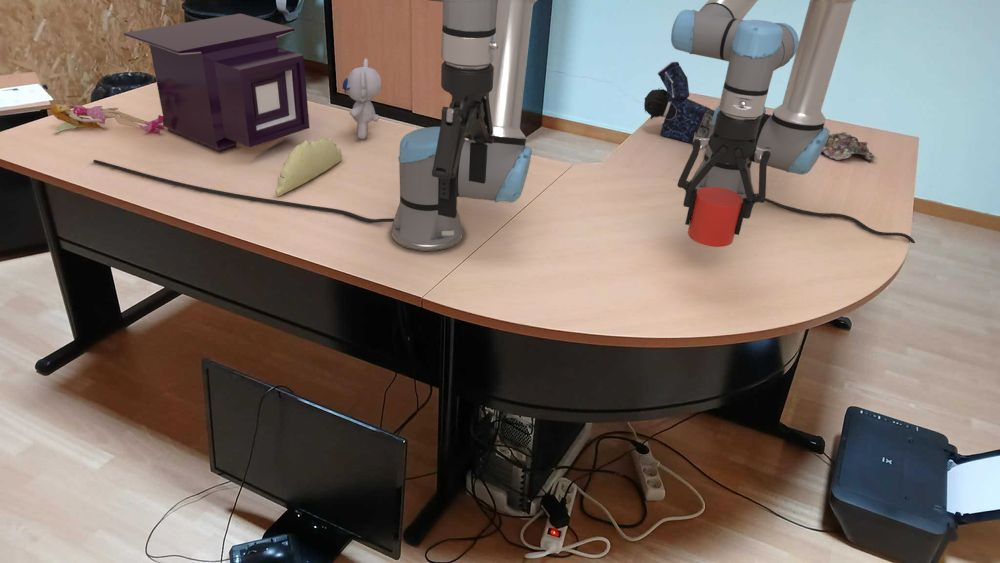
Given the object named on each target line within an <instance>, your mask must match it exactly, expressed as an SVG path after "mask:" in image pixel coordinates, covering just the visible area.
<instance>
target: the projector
mask: <svg viewBox="0 0 1000 563" xmlns="http://www.w3.org/2000/svg"><path fill="white" fill-rule="evenodd" d="M294 31H295V28H294V27H292V26H287V25H283V24H279V23H276V22H272V21H269V20H264V19H262V18H259V17H256V16H255V17H254V16H252V15H247V14H244V13H235V14H230V15H224V16H217V17H212V18H205V19H200V20H194V21H188V22H181V23H175V24H169V25H163V26H157V27H151V28H146V29H145V28H144V29H139V30H134V31H128V32H123V36H125V37H127V38H130V39H133V40H136V41H138V42H142V43H145V44H148V45H149V50H150V54H151V60H152V66H153V71H154V75H155V76H154V77H155V82H156V87H157V92H158V97H159V102H160V107H161V113H162V116H163V119H164V122H163V123H162V125H163V126H164V128H166V129H167V131H168V132H170V133H172V134H175V135H177V136H179V137H182V138H184V139H187V140H189V141H191V142H193V143H196V144H197V145H200V146H203V147H205V148H207V149H209V150H212V151H215V152H217V153H219V154H220V153H224V152H227V151H229V150H233V149H235V148H237V144H240V145H242V146H245V147H247V148H249V149H250V148H253V147H256V146H259V145H262V144H266V143H269V142H271V141H275V140H278V139H281V138H285V137H287V136H289V135H293V134H296V133H300V132H302V131H305V130H308V129H310V118H309V105H308V94H307V93H308V92H307V80H306V79H307V78H306V68H305V56H304V54H303V53H302V54H301V53H297V52H296V51H295V52H294V51H291V50H288V49H285V48H282V47H279V44H278V40H277V38H280V37H282V36H286V35H287V34H291V33H292V32H294Z"/></svg>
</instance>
